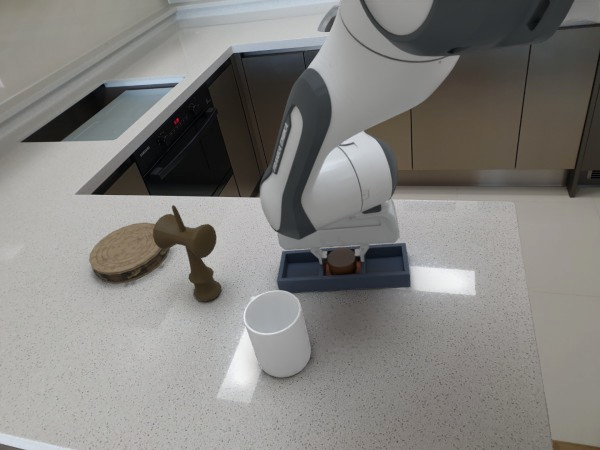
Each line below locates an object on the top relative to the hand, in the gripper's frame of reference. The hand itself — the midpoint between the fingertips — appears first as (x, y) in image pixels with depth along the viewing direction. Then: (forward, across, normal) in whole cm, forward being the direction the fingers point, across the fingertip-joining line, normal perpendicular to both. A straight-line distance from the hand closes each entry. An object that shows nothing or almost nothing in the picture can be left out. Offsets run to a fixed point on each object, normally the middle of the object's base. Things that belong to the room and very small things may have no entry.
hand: (342, 260), depth 81 cm
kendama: (+3, -25, -3) cm, 25 cm away
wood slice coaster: (+3, -45, +9) cm, 46 cm away
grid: (+3, 0, 0) cm, 3 cm away
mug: (+4, -10, -16) cm, 19 cm away
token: (+2, 0, 0) cm, 2 cm away
